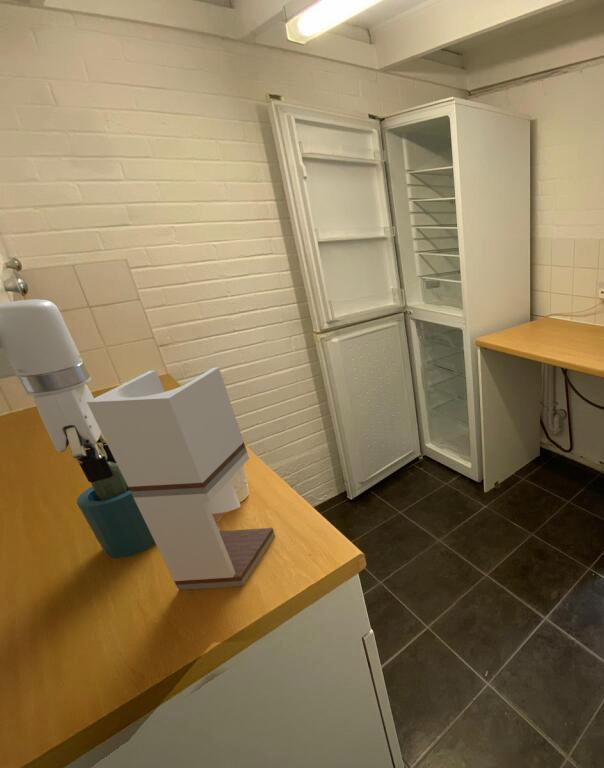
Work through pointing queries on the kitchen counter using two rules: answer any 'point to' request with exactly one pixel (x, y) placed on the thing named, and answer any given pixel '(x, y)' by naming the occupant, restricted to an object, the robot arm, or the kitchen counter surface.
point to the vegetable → (110, 481)
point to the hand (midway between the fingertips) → (103, 471)
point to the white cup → (240, 484)
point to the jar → (116, 523)
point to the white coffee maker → (183, 474)
